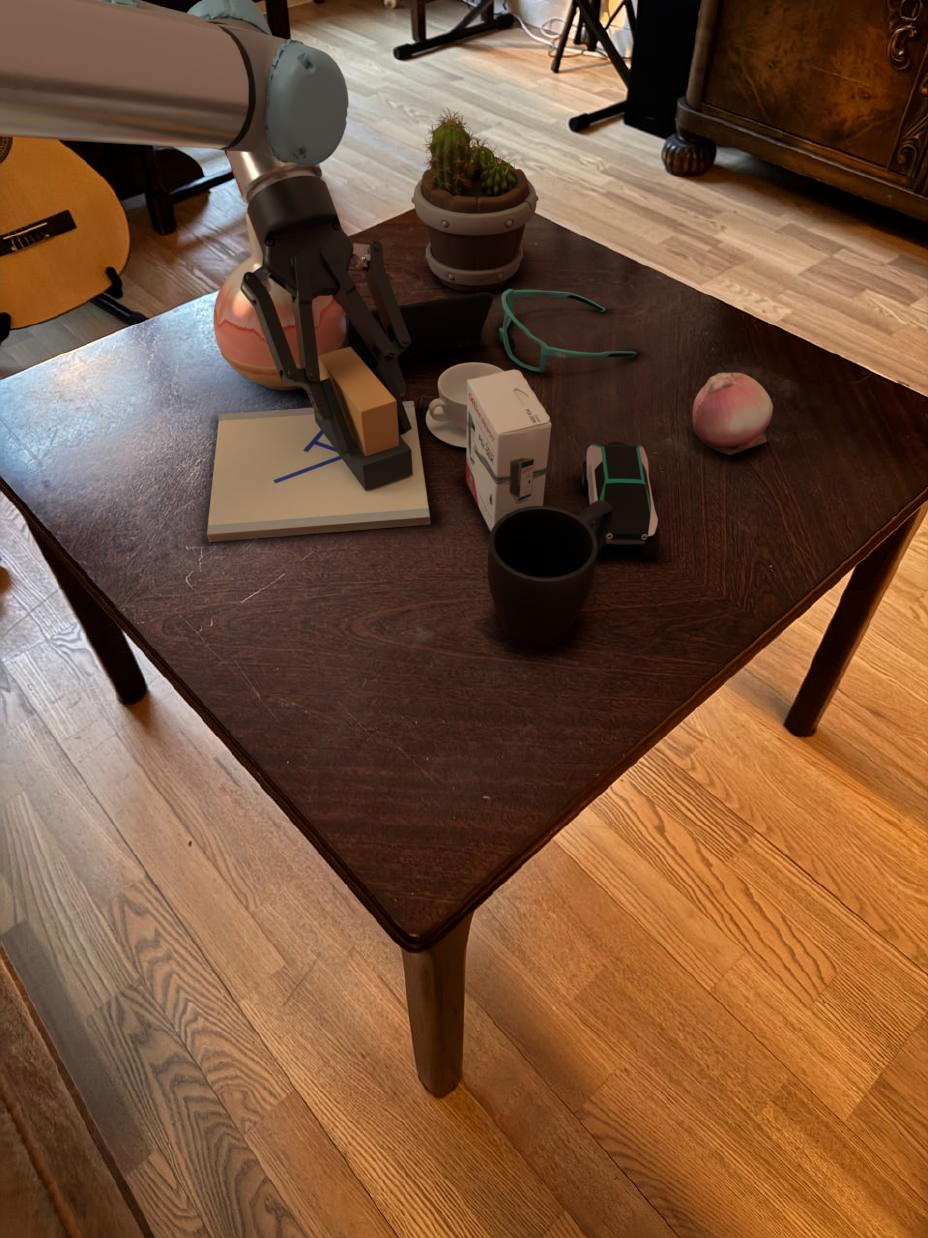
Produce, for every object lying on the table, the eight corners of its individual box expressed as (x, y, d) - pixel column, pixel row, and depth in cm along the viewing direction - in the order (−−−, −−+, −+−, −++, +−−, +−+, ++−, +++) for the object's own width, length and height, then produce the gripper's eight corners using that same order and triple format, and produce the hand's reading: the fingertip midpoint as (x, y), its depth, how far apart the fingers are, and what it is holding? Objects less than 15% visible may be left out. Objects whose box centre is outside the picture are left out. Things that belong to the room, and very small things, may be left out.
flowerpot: (497, 236, 117) (503, 68, 102) (553, 288, 108) (568, 112, 93) (398, 258, 113) (388, 86, 98) (446, 314, 104) (444, 134, 89)
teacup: (492, 384, 94) (494, 345, 91) (539, 434, 89) (543, 395, 85) (409, 409, 91) (407, 370, 88) (453, 463, 86) (452, 423, 82)
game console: (459, 307, 105) (460, 233, 98) (494, 368, 97) (496, 292, 90) (333, 326, 102) (324, 251, 95) (356, 391, 94) (348, 313, 87)
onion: (701, 408, 92) (716, 348, 86) (773, 430, 89) (793, 369, 84) (675, 450, 87) (690, 389, 82) (751, 474, 85) (771, 412, 79)
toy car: (640, 476, 84) (650, 431, 80) (655, 564, 77) (666, 519, 73) (580, 475, 85) (586, 430, 80) (588, 563, 77) (595, 518, 73)
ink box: (463, 480, 84) (463, 374, 75) (510, 470, 85) (516, 365, 76) (492, 540, 79) (497, 433, 70) (543, 528, 80) (553, 422, 71)
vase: (218, 351, 99) (180, 191, 85) (336, 332, 101) (318, 174, 88) (235, 421, 90) (196, 256, 77) (363, 398, 93) (347, 234, 79)
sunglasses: (480, 318, 103) (485, 278, 100) (596, 313, 107) (605, 274, 103) (515, 384, 94) (522, 342, 91) (640, 377, 98) (651, 336, 94)
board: (209, 542, 78) (206, 533, 77) (221, 421, 90) (219, 413, 89) (430, 524, 80) (429, 516, 79) (413, 408, 92) (413, 400, 91)
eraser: (365, 491, 81) (357, 420, 75) (315, 422, 88) (304, 352, 82) (413, 474, 83) (409, 403, 77) (360, 408, 89) (353, 338, 83)
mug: (635, 604, 73) (654, 521, 66) (535, 680, 68) (544, 598, 61) (564, 553, 77) (575, 469, 70) (464, 622, 72) (465, 538, 65)
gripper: (366, 190, 84) (448, 421, 87) (184, 231, 78) (279, 478, 81) (386, 151, 77) (475, 404, 80) (188, 194, 71) (292, 465, 74)
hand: (376, 441), depth 81 cm, fingers closed on eraser, 5 cm apart
